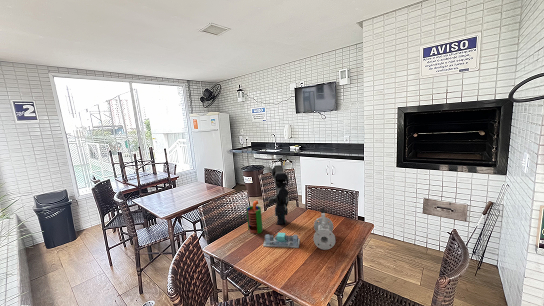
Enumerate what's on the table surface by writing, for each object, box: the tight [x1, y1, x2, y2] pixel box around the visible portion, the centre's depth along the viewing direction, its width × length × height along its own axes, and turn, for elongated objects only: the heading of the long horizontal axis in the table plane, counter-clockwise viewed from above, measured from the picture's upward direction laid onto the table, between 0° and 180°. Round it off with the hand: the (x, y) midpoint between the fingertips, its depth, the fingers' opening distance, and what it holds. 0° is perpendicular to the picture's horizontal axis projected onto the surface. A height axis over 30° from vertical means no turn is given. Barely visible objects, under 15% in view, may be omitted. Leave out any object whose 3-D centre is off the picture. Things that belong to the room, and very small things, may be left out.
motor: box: [246, 200, 263, 235], centre depth 148 cm, size 10×9×20 cm
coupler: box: [274, 232, 288, 242], centre depth 131 cm, size 4×8×4 cm, turn 79°
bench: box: [262, 234, 301, 249], centre depth 131 cm, size 8×21×5 cm, turn 79°
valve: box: [313, 208, 336, 251], centre depth 132 cm, size 22×12×15 cm, turn 168°
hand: (283, 216), depth 141 cm, fingers open, 9 cm apart
